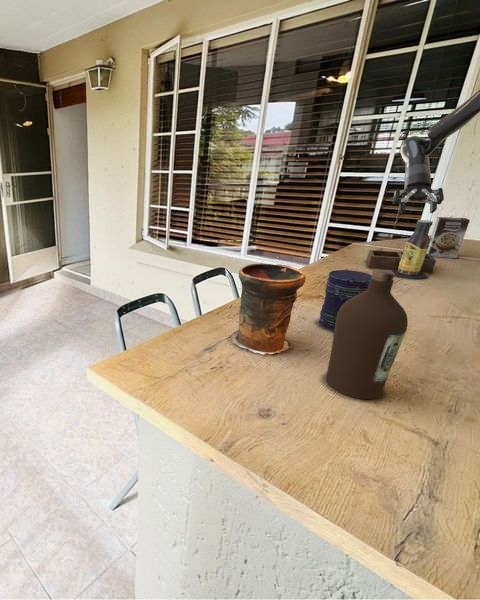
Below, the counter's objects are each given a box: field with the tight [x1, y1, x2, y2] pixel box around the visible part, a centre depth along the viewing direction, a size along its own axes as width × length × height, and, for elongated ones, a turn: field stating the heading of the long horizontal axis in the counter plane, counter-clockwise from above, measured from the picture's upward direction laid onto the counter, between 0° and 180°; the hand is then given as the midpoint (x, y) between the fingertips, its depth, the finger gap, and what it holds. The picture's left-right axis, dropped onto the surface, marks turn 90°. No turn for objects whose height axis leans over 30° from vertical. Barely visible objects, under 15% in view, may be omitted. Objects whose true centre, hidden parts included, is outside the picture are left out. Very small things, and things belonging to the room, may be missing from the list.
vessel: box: [231, 262, 307, 356], centre depth 88 cm, size 14×14×20 cm
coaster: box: [390, 270, 428, 280], centre depth 131 cm, size 10×10×1 cm
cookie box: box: [426, 216, 471, 259], centre depth 148 cm, size 9×6×16 cm
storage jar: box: [318, 269, 372, 333], centre depth 95 cm, size 10×10×15 cm
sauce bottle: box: [398, 219, 434, 275], centre depth 128 cm, size 6×6×20 cm
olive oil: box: [325, 269, 409, 400], centre depth 68 cm, size 11×11×25 cm
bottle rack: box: [366, 249, 437, 274], centre depth 140 cm, size 19×11×5 cm, turn 56°
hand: (417, 211), depth 134 cm, fingers open, 8 cm apart
